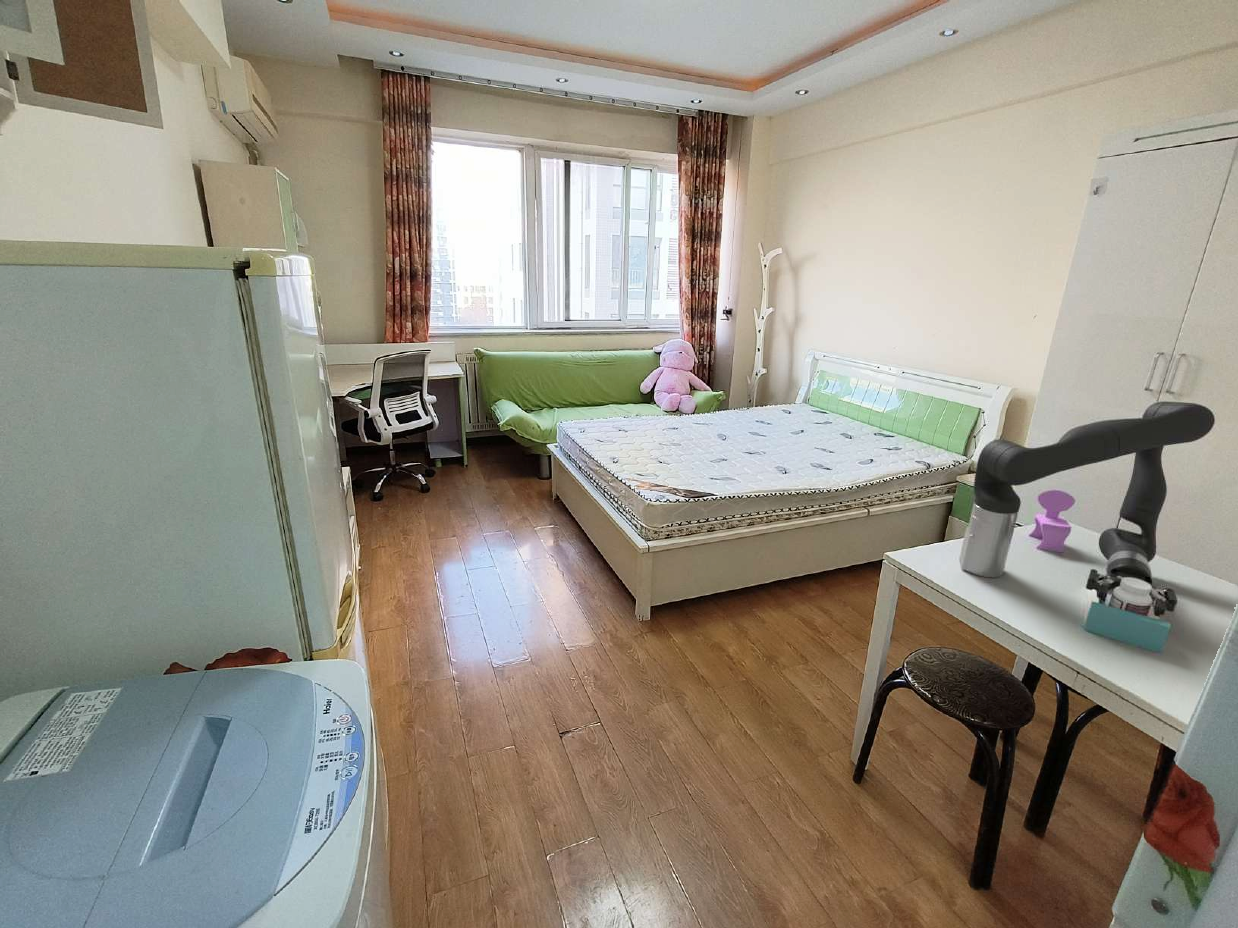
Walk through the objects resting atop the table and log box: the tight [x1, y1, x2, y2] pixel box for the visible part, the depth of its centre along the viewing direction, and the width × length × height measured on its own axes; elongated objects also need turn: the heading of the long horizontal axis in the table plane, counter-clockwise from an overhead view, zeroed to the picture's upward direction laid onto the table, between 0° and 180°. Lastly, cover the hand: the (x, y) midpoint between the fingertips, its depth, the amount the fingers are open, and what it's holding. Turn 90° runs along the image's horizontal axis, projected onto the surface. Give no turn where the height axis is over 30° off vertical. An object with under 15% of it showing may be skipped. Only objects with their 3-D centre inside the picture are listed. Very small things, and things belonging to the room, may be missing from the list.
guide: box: [1083, 589, 1171, 654], centre depth 122 cm, size 20×12×6 cm, turn 141°
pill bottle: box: [1107, 577, 1152, 616], centre depth 117 cm, size 6×6×11 cm
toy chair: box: [1028, 489, 1076, 553], centre depth 152 cm, size 8×9×15 cm
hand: (1130, 604), depth 115 cm, fingers open, 8 cm apart
